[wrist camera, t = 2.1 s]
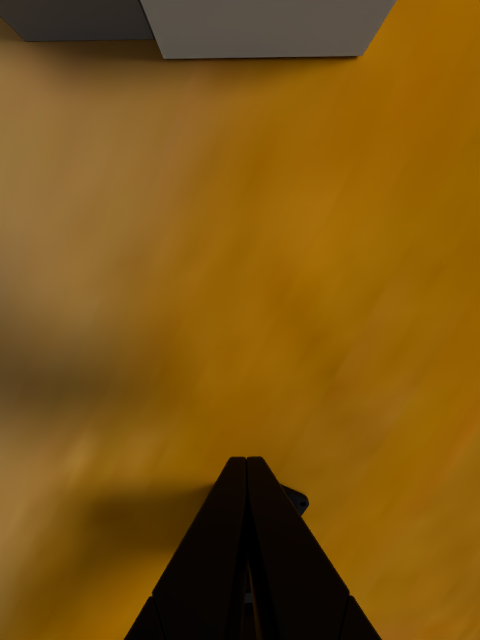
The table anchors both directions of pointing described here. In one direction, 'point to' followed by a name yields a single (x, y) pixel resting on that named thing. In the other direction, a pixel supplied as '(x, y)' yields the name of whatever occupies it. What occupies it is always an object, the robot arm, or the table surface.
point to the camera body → (77, 19)
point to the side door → (264, 27)
